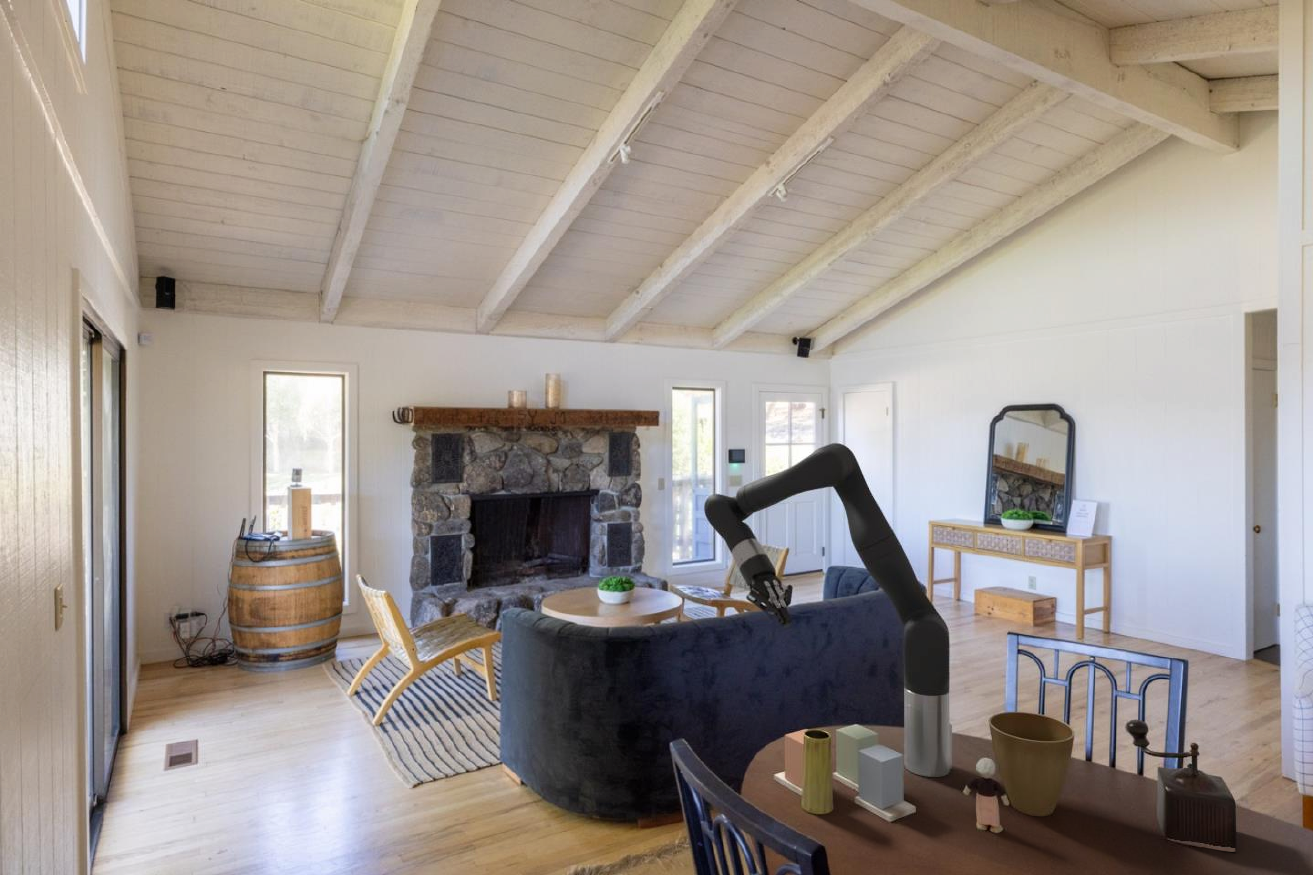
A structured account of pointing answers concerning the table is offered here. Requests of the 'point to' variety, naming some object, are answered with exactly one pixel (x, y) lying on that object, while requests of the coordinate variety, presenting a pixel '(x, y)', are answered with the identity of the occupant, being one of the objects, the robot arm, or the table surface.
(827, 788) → the vase
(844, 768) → the sage block
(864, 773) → the slate block
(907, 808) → the block bases
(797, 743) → the terracotta block
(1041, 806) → the plant pot
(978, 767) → the grandmother figurine
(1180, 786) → the dark brown coffee grinder
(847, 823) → the table surface
